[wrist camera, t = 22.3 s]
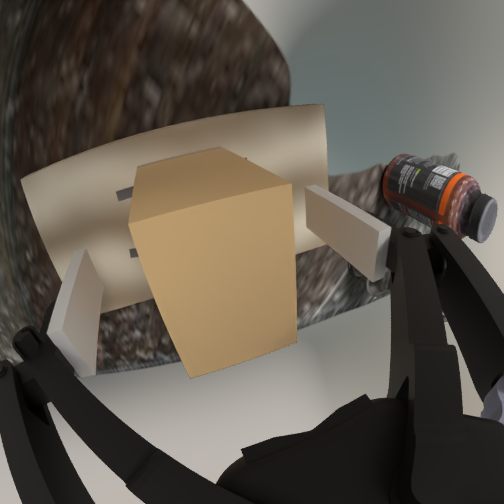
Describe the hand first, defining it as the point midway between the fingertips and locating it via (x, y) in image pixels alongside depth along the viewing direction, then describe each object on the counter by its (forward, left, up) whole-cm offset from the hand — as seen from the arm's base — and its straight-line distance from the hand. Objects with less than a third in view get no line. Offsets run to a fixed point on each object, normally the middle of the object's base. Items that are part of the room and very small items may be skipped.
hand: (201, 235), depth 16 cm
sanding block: (0, 0, -4) cm, 4 cm away
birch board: (0, 0, -5) cm, 5 cm away
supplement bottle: (+2, +21, -6) cm, 22 cm away
